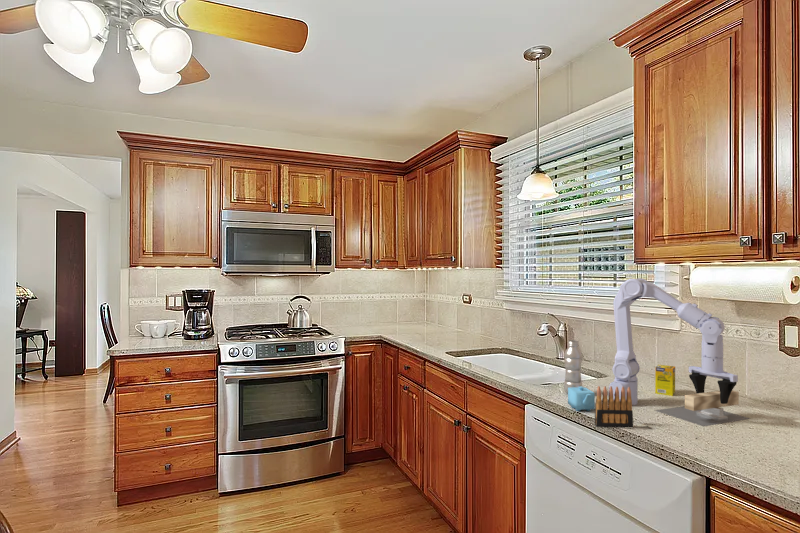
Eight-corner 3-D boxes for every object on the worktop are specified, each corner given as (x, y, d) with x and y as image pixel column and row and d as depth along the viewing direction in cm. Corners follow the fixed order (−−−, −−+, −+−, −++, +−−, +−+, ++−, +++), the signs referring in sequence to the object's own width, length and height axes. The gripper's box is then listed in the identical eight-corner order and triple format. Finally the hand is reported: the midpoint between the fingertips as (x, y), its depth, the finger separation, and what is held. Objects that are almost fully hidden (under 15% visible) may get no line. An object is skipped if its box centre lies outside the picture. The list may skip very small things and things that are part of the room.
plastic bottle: (584, 396, 178) (584, 342, 179) (564, 395, 180) (565, 341, 180) (581, 392, 185) (581, 340, 185) (562, 391, 186) (562, 339, 186)
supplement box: (673, 398, 176) (673, 368, 176) (654, 396, 180) (654, 366, 180) (675, 395, 181) (675, 366, 181) (657, 392, 185) (657, 364, 185)
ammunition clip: (630, 425, 146) (631, 385, 146) (633, 427, 144) (633, 387, 144) (594, 424, 147) (594, 385, 147) (596, 426, 145) (596, 386, 145)
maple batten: (693, 410, 146) (693, 397, 146) (684, 408, 149) (684, 395, 149) (738, 404, 153) (738, 391, 153) (729, 401, 156) (729, 389, 156)
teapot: (599, 415, 156) (599, 392, 156) (580, 415, 156) (580, 392, 156) (583, 404, 168) (583, 383, 168) (566, 404, 168) (566, 383, 168)
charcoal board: (703, 429, 143) (703, 426, 143) (654, 413, 158) (654, 410, 158) (751, 421, 150) (751, 418, 150) (699, 406, 166) (699, 404, 166)
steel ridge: (718, 421, 147) (718, 410, 147) (696, 415, 154) (696, 404, 154) (727, 420, 149) (728, 408, 149) (706, 413, 155) (706, 402, 155)
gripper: (744, 359, 146) (744, 405, 146) (699, 352, 159) (699, 393, 159) (728, 361, 143) (728, 407, 143) (684, 353, 157) (683, 395, 157)
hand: (712, 400), depth 151 cm, fingers open, 7 cm apart
